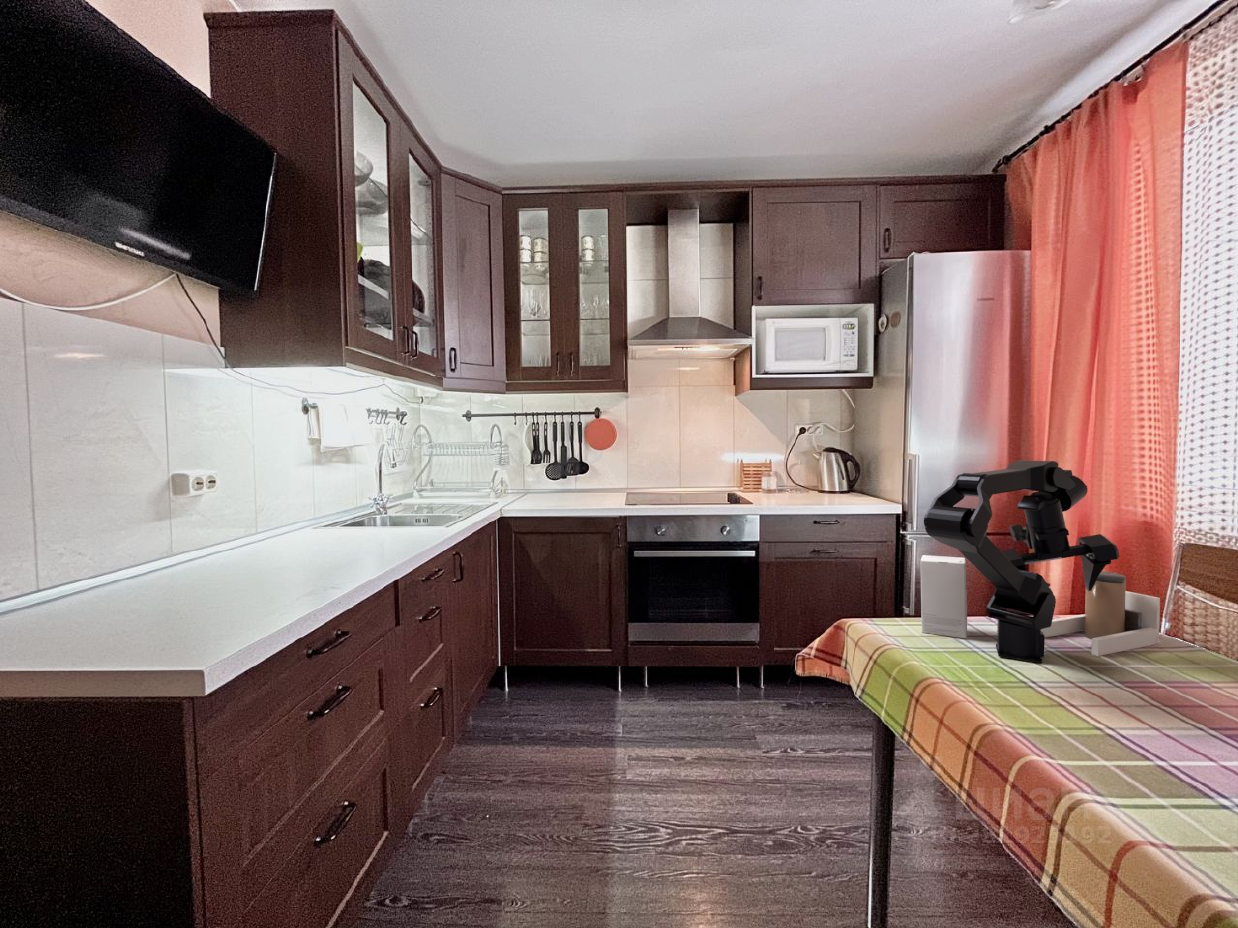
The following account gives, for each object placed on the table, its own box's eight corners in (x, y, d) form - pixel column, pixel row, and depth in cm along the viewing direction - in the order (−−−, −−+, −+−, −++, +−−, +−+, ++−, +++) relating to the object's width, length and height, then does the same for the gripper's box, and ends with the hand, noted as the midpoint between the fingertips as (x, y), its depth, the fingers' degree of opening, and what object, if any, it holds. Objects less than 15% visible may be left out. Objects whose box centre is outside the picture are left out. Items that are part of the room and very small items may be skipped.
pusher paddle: (1137, 640, 108) (1138, 612, 108) (1091, 628, 115) (1091, 602, 115) (1141, 640, 108) (1141, 612, 108) (1094, 627, 116) (1094, 601, 115)
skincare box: (966, 630, 116) (967, 557, 115) (966, 640, 110) (967, 563, 110) (921, 624, 120) (922, 553, 120) (919, 632, 115) (920, 558, 114)
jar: (1088, 640, 110) (1089, 575, 109) (1081, 631, 115) (1082, 569, 114) (1128, 645, 106) (1129, 579, 106) (1119, 636, 112) (1121, 573, 111)
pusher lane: (1097, 656, 101) (1098, 607, 101) (1035, 636, 112) (1036, 592, 112) (1158, 643, 108) (1160, 597, 107) (1094, 626, 118) (1095, 584, 118)
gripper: (1083, 496, 109) (1097, 566, 112) (977, 516, 116) (992, 582, 119) (1113, 517, 99) (1127, 593, 102) (995, 538, 106) (1011, 609, 109)
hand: (1060, 593), depth 108 cm, fingers open, 9 cm apart
